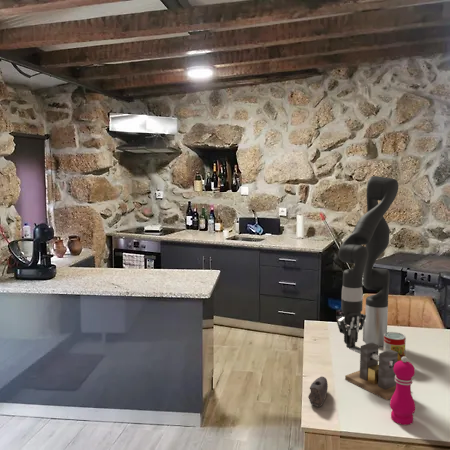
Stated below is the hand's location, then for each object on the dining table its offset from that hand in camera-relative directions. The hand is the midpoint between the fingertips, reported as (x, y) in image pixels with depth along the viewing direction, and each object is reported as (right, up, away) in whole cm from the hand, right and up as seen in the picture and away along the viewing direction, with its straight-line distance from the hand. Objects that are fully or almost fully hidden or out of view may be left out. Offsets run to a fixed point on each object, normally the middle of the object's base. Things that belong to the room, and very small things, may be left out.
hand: (350, 342), depth 170 cm
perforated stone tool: (-16, -14, -18) cm, 28 cm away
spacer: (+6, -11, -9) cm, 16 cm away
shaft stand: (+7, -13, -9) cm, 17 cm away
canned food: (+19, -11, +8) cm, 23 cm away
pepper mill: (+7, -16, -31) cm, 35 cm away
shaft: (+5, -3, -6) cm, 9 cm away
